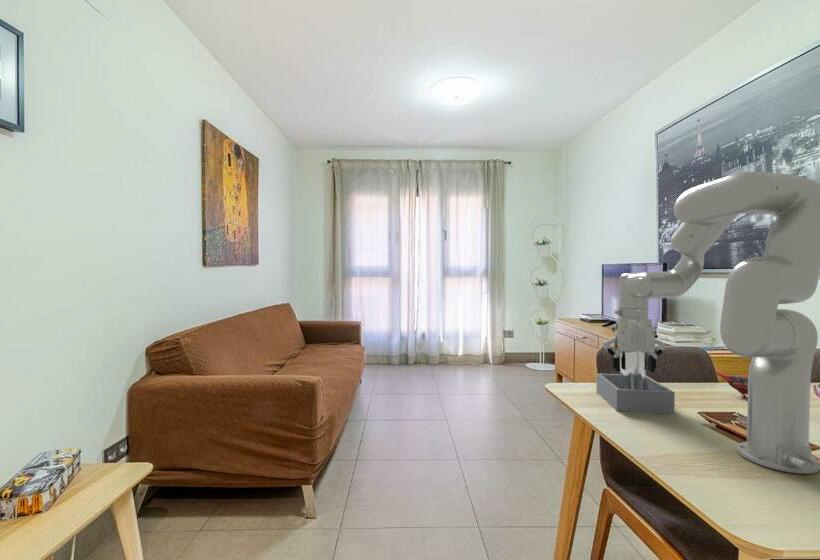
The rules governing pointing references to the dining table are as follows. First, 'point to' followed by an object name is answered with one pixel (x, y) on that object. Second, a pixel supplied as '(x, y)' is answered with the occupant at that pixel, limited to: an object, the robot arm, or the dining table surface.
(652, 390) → the box
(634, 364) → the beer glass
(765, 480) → the dining table surface
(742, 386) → the decorative bird figurine
